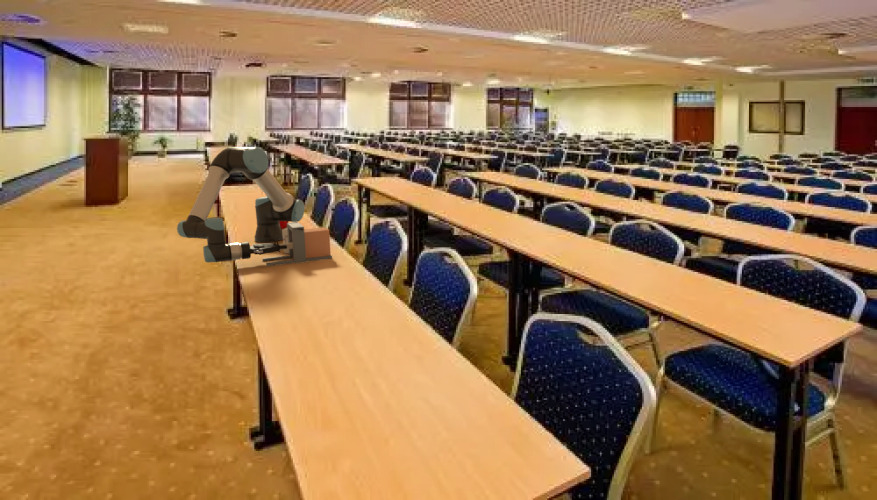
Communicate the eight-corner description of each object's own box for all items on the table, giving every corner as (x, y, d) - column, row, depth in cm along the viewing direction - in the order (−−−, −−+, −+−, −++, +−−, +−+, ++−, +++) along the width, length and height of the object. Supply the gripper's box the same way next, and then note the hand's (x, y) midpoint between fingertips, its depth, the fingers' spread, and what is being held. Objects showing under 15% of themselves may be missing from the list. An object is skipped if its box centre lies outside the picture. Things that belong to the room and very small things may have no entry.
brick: (296, 260, 282) (294, 233, 279) (293, 257, 288) (291, 230, 285) (330, 256, 288) (329, 229, 285) (326, 253, 294) (325, 227, 291)
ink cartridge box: (291, 249, 306) (288, 220, 303) (300, 249, 305) (298, 220, 302) (283, 253, 298) (281, 223, 295) (292, 253, 297) (290, 223, 294)
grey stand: (267, 266, 273) (264, 230, 270) (262, 260, 285) (259, 225, 281) (332, 258, 286) (330, 224, 282) (325, 253, 297) (323, 219, 293)
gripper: (239, 255, 280) (291, 250, 290) (243, 262, 269) (297, 256, 278) (237, 239, 278) (290, 234, 288) (241, 245, 267) (296, 240, 276)
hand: (293, 245), depth 283 cm, fingers closed
